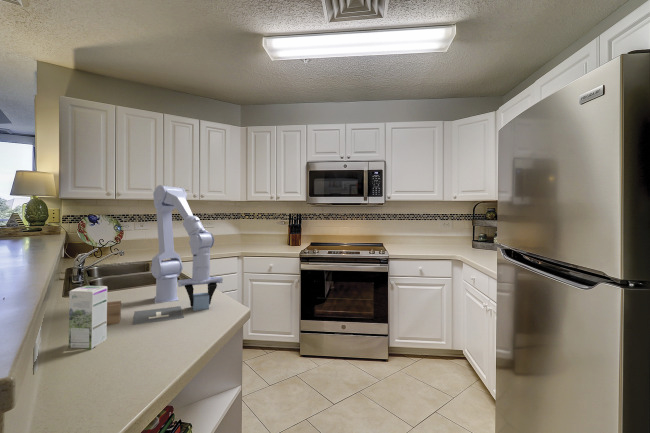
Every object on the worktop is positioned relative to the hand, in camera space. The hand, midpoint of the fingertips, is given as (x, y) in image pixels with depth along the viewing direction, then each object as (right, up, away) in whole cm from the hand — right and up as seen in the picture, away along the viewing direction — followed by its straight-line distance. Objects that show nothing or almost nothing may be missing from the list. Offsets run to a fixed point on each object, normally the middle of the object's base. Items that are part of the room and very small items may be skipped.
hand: (200, 304), depth 108 cm
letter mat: (-10, -1, -8) cm, 13 cm away
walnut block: (-21, -1, -16) cm, 26 cm away
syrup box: (-16, -1, -31) cm, 35 cm away
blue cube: (0, -1, 0) cm, 1 cm away
